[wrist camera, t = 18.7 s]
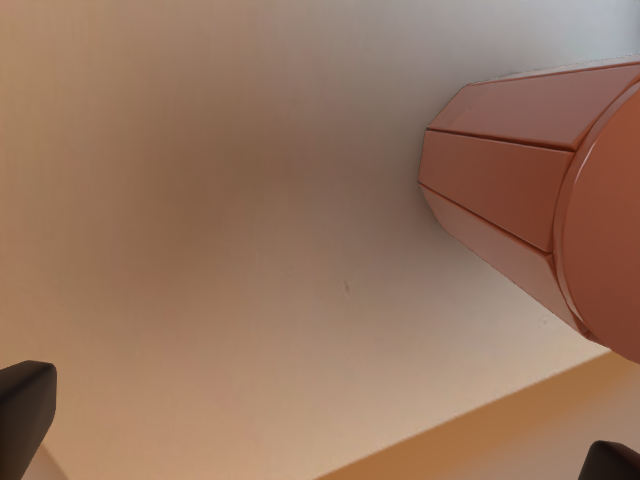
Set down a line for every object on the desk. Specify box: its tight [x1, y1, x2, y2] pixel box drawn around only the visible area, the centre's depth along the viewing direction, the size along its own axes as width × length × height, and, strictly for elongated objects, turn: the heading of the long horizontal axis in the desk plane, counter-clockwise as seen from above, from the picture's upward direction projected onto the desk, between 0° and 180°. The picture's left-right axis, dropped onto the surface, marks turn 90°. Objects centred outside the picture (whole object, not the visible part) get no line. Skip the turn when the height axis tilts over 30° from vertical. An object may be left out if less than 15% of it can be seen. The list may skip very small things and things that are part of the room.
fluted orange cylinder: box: [418, 54, 640, 364], centre depth 15 cm, size 7×7×11 cm
